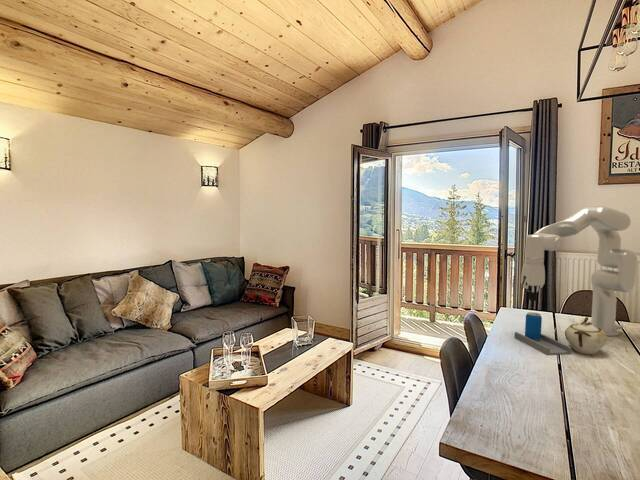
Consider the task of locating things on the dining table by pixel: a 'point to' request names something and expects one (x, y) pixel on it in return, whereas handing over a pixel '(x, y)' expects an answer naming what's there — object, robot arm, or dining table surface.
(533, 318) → the beverage can
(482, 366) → the dining table surface
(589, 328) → the sugar bowl
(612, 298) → the robot arm
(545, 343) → the tray
